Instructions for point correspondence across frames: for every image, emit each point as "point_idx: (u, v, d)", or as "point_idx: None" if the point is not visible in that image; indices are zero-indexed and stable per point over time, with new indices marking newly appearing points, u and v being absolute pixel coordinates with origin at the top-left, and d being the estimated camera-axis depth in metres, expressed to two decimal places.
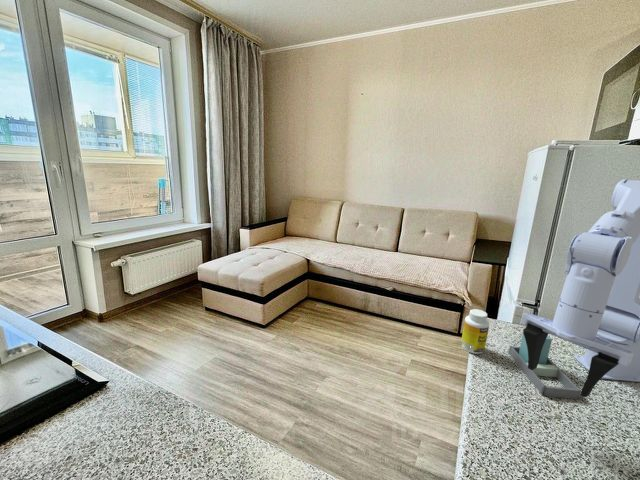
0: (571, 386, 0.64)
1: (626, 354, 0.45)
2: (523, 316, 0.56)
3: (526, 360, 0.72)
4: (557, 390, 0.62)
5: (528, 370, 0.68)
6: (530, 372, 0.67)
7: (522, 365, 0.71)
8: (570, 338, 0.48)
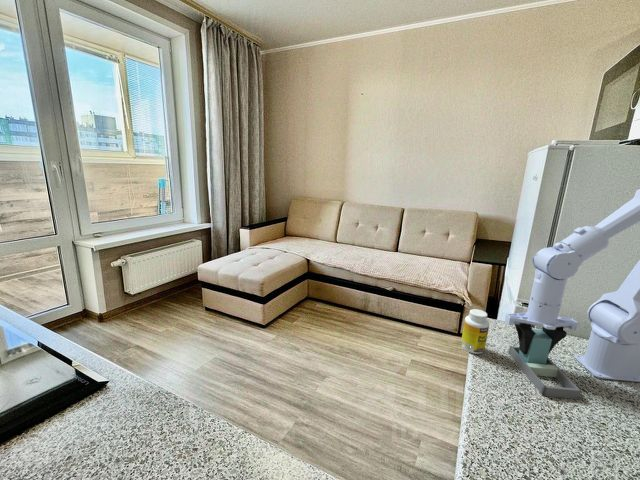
0: (571, 386, 0.64)
1: (575, 323, 0.69)
2: (510, 319, 0.70)
3: (526, 360, 0.72)
4: (557, 390, 0.62)
5: (528, 370, 0.68)
6: (530, 372, 0.67)
7: (522, 365, 0.71)
8: (555, 328, 0.67)
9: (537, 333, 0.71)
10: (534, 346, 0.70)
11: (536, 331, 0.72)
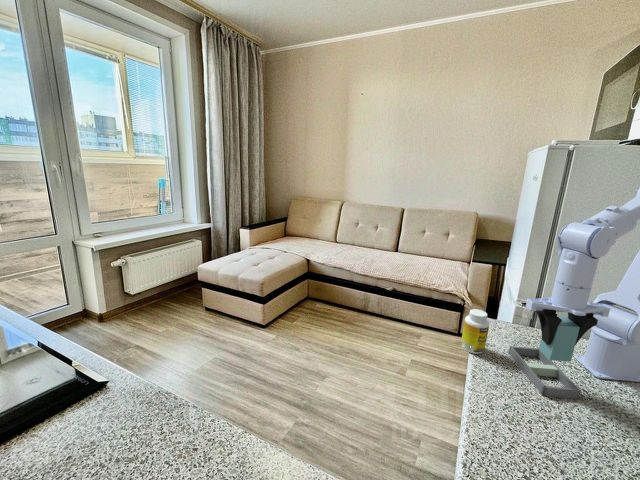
0: (571, 386, 0.64)
1: (607, 309, 0.60)
2: (533, 305, 0.62)
3: (549, 351, 0.64)
4: (557, 390, 0.62)
5: (528, 370, 0.68)
6: (530, 372, 0.67)
7: (522, 365, 0.71)
8: (585, 314, 0.58)
9: (562, 321, 0.63)
10: (559, 335, 0.62)
11: (561, 319, 0.64)
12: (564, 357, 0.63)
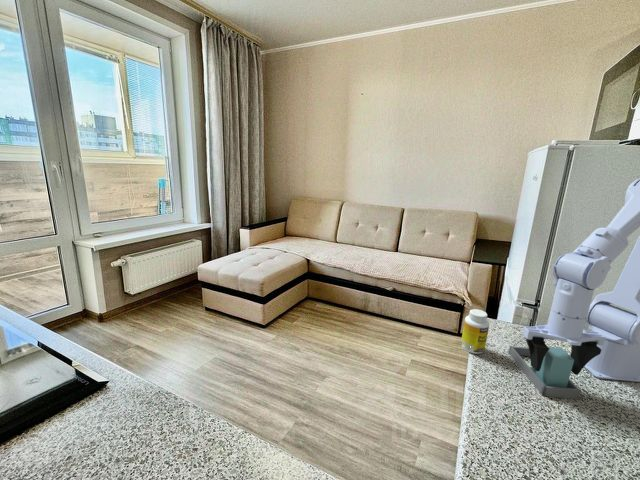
0: (571, 386, 0.64)
1: (602, 337, 0.61)
2: (529, 333, 0.63)
3: (545, 382, 0.65)
4: (557, 390, 0.62)
5: (528, 370, 0.68)
6: (530, 372, 0.67)
7: (522, 365, 0.71)
8: (581, 344, 0.59)
9: (557, 352, 0.64)
10: (554, 367, 0.63)
11: (555, 350, 0.65)
12: None
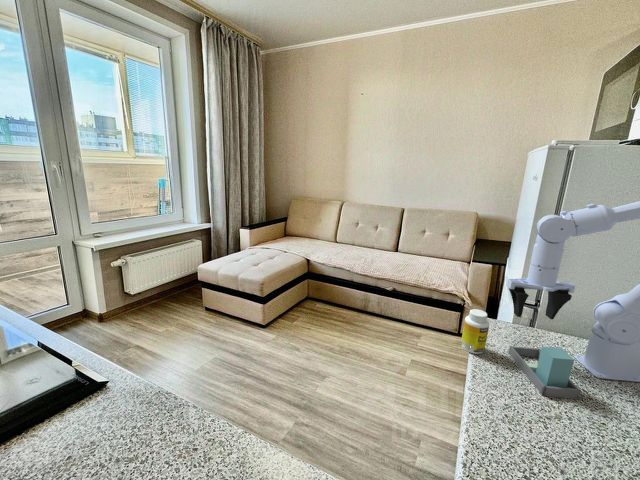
0: (571, 386, 0.64)
1: (573, 286, 0.73)
2: (512, 283, 0.74)
3: (545, 382, 0.65)
4: (557, 390, 0.62)
5: (528, 370, 0.68)
6: (530, 372, 0.67)
7: (522, 365, 0.71)
8: (554, 290, 0.71)
9: (557, 352, 0.64)
10: (554, 367, 0.63)
11: (555, 350, 0.65)
12: None
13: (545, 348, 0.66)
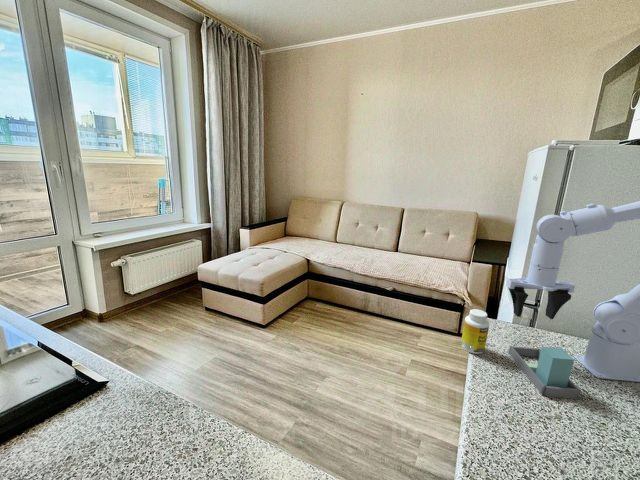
0: (571, 386, 0.64)
1: (573, 286, 0.73)
2: (511, 283, 0.74)
3: (545, 382, 0.65)
4: (557, 390, 0.62)
5: (528, 370, 0.68)
6: (530, 372, 0.67)
7: (522, 365, 0.71)
8: (553, 289, 0.71)
9: (557, 352, 0.64)
10: (554, 367, 0.63)
11: (555, 350, 0.65)
12: None
13: (545, 348, 0.66)
